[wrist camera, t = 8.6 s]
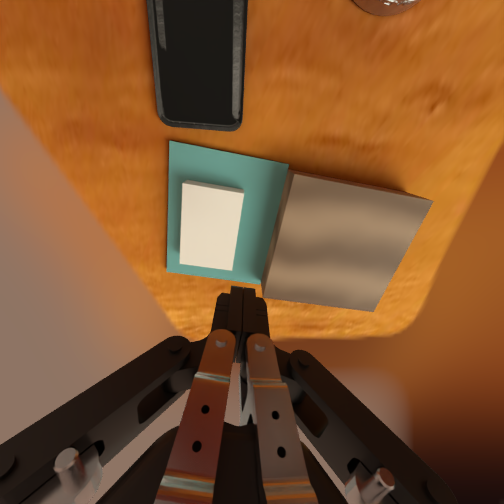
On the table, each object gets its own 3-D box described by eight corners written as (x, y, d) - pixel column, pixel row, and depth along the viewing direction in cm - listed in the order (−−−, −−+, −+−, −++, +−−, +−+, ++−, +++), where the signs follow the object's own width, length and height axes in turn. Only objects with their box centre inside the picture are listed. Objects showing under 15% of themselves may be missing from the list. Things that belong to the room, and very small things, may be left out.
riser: (286, 168, 24) (294, 174, 20) (406, 192, 25) (433, 201, 22) (260, 278, 30) (262, 297, 26) (358, 292, 31) (373, 312, 28)
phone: (253, -124, 15) (241, 132, 22) (252, -107, 16) (241, 132, 23) (130, -143, 14) (157, 125, 21) (138, -124, 15) (161, 126, 22)
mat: (171, 140, 22) (169, 140, 22) (288, 163, 24) (289, 164, 23) (168, 269, 29) (166, 271, 28) (259, 281, 30) (260, 284, 30)
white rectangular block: (244, 193, 22) (244, 189, 24) (182, 183, 22) (187, 179, 23) (231, 270, 26) (232, 262, 28) (179, 263, 26) (183, 255, 27)
